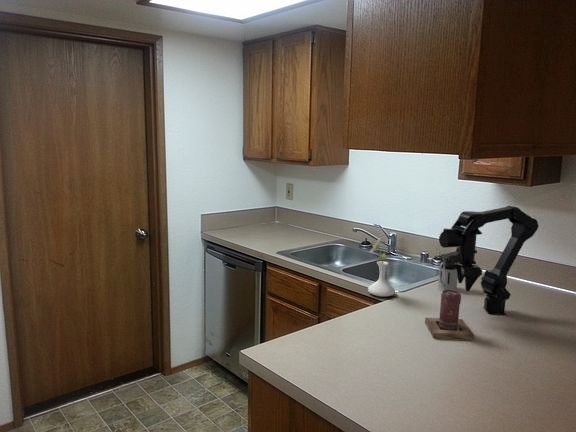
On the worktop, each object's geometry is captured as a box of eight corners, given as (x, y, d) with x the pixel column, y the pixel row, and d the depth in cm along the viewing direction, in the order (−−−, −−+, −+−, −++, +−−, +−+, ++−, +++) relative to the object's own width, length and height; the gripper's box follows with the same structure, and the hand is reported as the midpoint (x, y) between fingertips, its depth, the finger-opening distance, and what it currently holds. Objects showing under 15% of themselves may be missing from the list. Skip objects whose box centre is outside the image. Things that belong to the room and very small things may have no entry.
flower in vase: (377, 288, 204) (380, 232, 199) (400, 294, 196) (403, 237, 191) (359, 294, 195) (362, 236, 190) (382, 302, 187) (386, 241, 182)
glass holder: (460, 289, 205) (463, 256, 202) (448, 297, 194) (451, 262, 191) (441, 284, 210) (443, 252, 208) (428, 292, 199) (430, 258, 197)
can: (459, 335, 156) (462, 296, 154) (439, 333, 157) (442, 294, 155) (456, 328, 162) (459, 290, 160) (437, 326, 163) (440, 288, 161)
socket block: (461, 324, 165) (462, 319, 165) (473, 340, 153) (474, 334, 152) (424, 322, 166) (425, 317, 166) (433, 338, 154) (433, 332, 153)
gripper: (438, 239, 180) (435, 278, 182) (451, 251, 161) (448, 294, 164) (467, 240, 179) (464, 279, 182) (484, 252, 161) (480, 295, 163)
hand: (463, 286), depth 173 cm, fingers open, 9 cm apart
